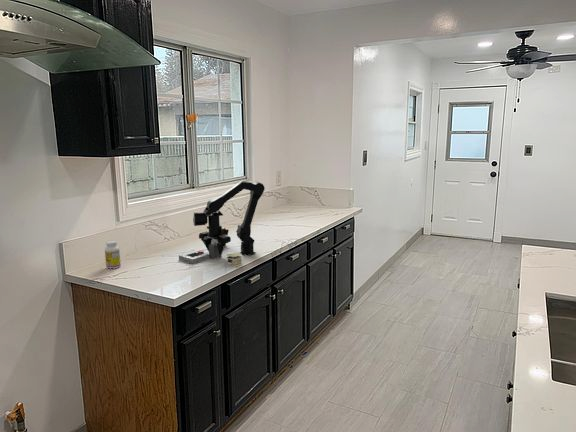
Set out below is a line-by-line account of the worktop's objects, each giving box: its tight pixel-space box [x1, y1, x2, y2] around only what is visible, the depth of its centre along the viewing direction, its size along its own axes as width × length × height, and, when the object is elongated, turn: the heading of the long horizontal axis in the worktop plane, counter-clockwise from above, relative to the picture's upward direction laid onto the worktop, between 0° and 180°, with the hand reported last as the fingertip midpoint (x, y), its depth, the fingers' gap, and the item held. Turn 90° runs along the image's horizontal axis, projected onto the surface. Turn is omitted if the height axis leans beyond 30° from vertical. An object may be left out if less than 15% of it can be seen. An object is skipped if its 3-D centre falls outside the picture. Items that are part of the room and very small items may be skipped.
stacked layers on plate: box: [226, 252, 243, 268], centre depth 217 cm, size 10×9×6 cm
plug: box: [208, 242, 222, 260], centre depth 229 cm, size 4×5×8 cm
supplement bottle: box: [104, 240, 122, 270], centre depth 213 cm, size 7×7×13 cm
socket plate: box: [178, 250, 211, 265], centre depth 226 cm, size 11×11×3 cm
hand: (215, 253), depth 230 cm, fingers open, 8 cm apart
